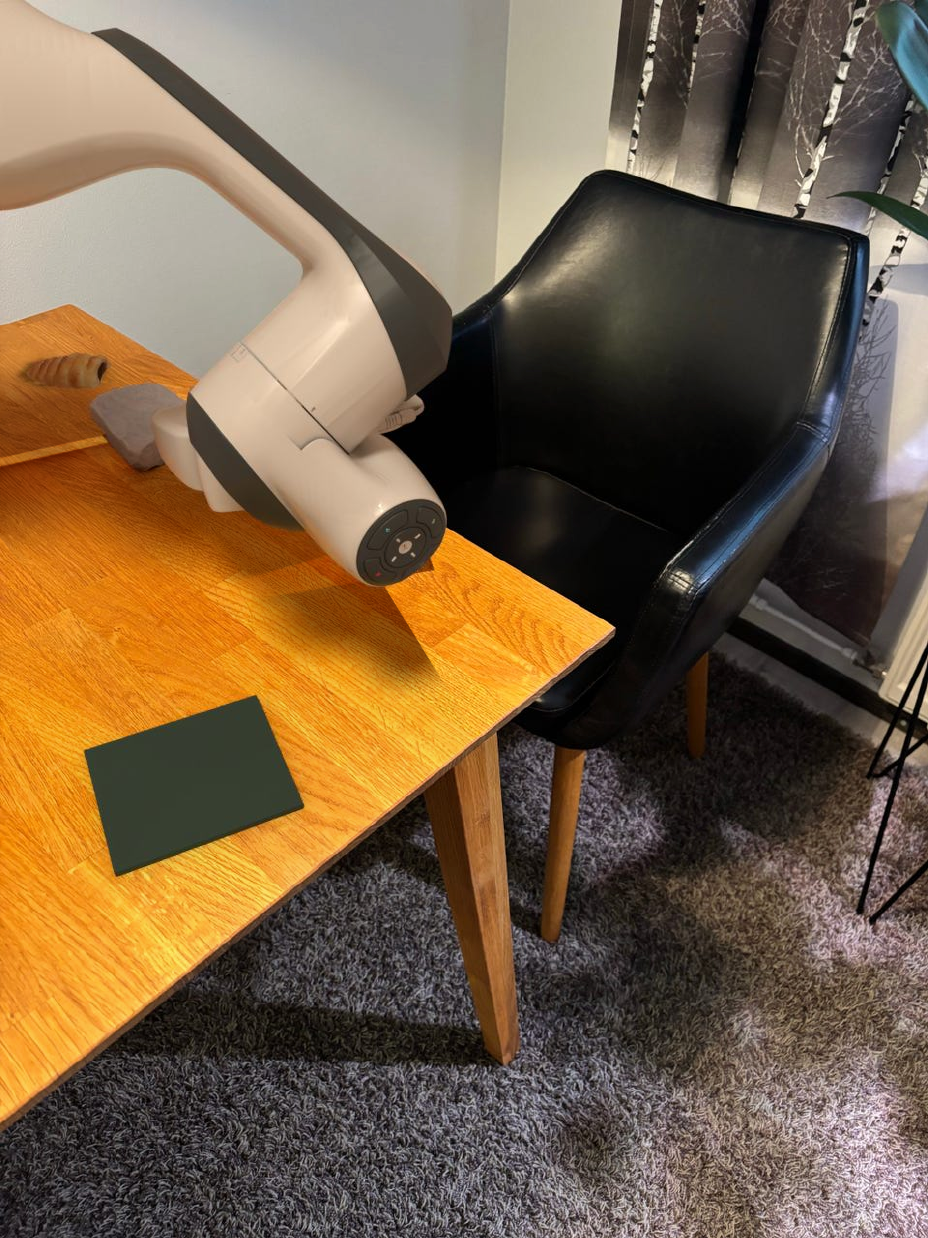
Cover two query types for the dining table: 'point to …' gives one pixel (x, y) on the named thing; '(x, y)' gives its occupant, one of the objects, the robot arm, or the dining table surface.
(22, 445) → the dining table surface
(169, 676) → the dining table surface
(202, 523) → the dining table surface
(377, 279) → the robot arm
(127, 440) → the stone block
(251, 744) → the mat
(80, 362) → the pastry
